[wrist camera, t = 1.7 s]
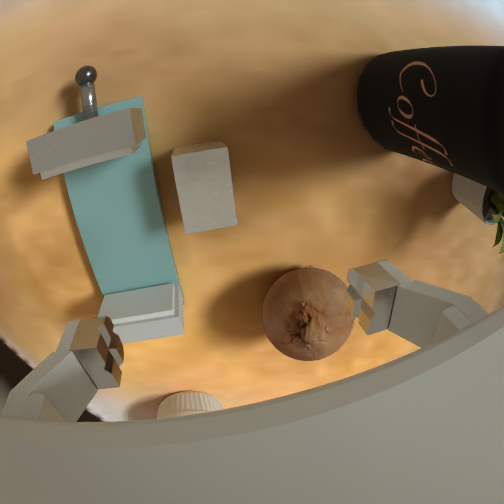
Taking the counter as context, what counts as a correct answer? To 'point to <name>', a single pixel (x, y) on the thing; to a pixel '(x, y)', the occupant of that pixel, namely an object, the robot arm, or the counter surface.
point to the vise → (127, 239)
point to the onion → (307, 314)
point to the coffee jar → (440, 108)
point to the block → (204, 186)
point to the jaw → (87, 135)
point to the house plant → (481, 202)
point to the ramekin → (188, 404)
